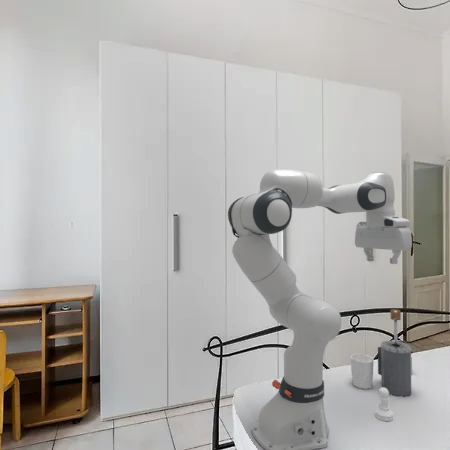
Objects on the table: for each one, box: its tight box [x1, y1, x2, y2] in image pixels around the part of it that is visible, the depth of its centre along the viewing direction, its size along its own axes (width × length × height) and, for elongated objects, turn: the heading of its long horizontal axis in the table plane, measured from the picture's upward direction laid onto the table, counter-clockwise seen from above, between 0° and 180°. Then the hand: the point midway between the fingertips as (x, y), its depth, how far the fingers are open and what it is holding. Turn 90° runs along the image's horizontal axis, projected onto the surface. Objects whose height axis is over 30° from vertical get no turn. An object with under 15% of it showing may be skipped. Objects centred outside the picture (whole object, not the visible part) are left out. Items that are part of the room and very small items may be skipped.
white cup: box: [350, 353, 375, 390], centre depth 122 cm, size 8×8×10 cm
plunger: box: [390, 308, 402, 347], centre depth 118 cm, size 7×7×18 cm
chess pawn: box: [374, 387, 394, 422], centre depth 102 cm, size 5×5×9 cm
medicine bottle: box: [392, 339, 413, 376], centre depth 133 cm, size 7×7×12 cm
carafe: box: [377, 340, 412, 398], centre depth 120 cm, size 10×12×16 cm
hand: (381, 262), depth 111 cm, fingers open, 8 cm apart
